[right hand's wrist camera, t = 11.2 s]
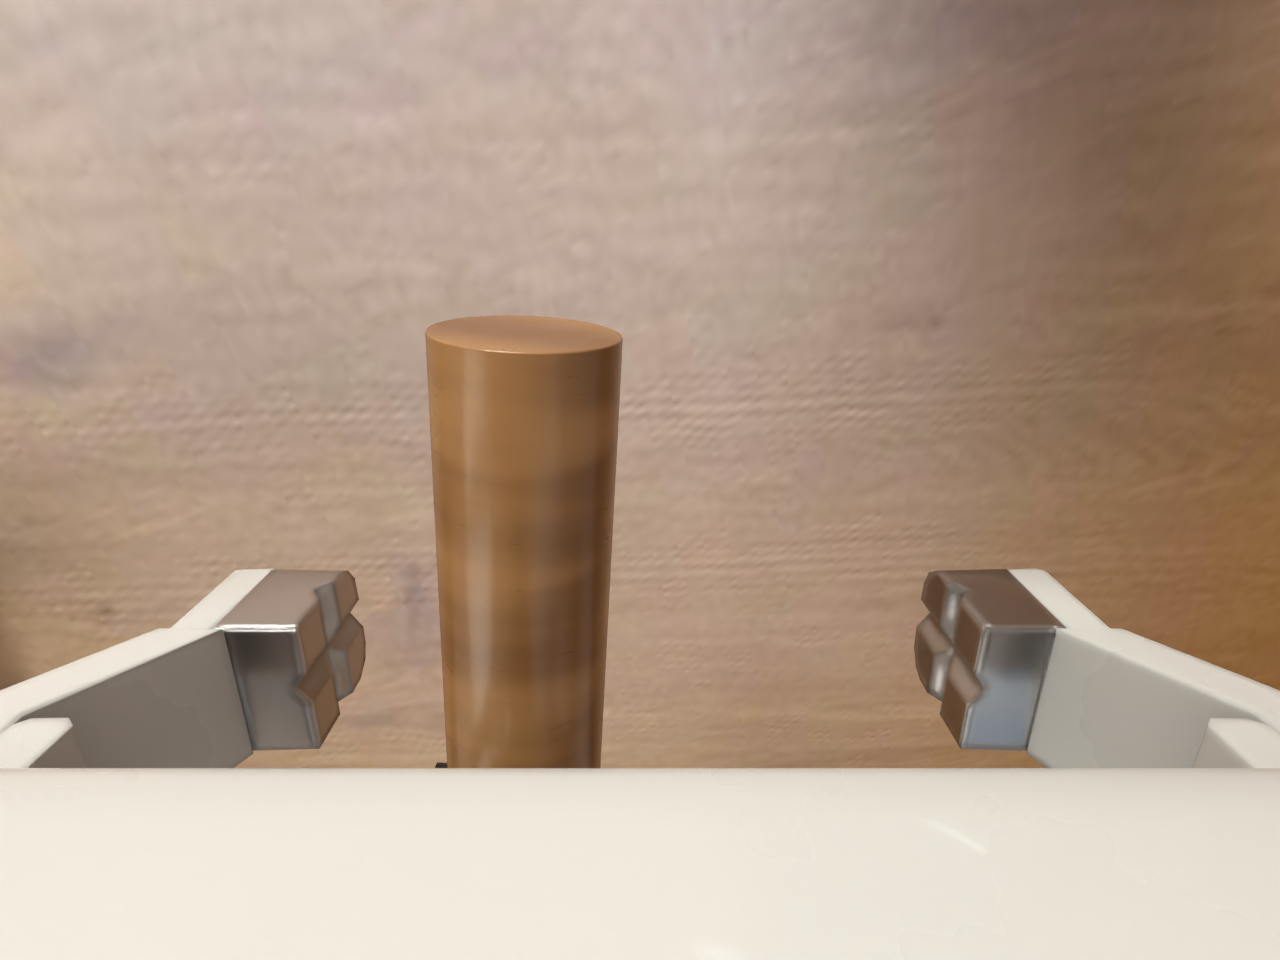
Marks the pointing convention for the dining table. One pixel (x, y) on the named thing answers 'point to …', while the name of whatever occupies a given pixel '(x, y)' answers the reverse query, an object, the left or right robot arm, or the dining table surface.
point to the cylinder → (523, 534)
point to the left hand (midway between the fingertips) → (527, 783)
